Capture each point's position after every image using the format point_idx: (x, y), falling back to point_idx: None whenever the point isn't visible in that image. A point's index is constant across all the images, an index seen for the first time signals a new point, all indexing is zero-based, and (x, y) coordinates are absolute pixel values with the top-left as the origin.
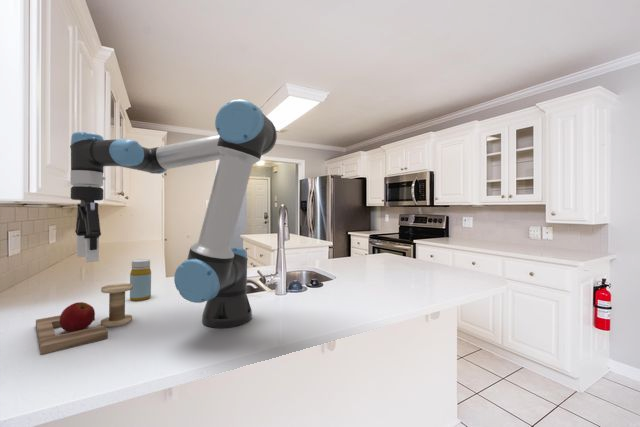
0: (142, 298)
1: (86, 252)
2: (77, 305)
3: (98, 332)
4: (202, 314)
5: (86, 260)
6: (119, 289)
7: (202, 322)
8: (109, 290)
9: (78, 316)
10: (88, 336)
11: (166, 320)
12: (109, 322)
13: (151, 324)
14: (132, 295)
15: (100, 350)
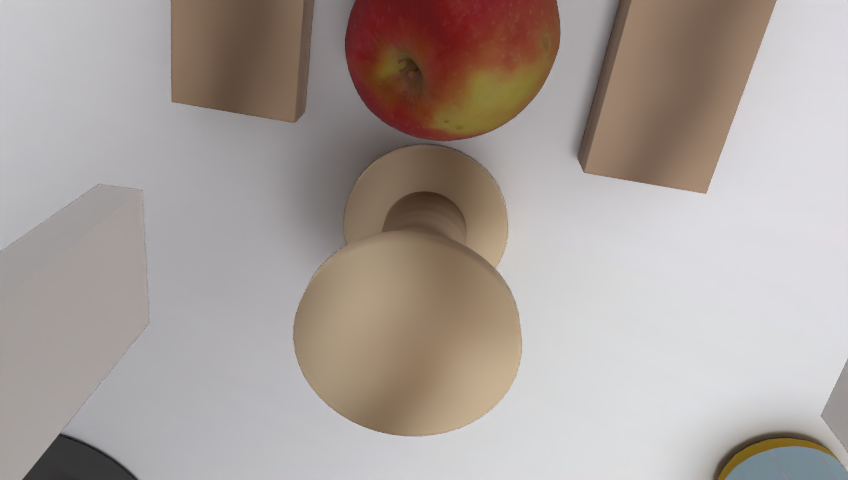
0: (721, 476)
1: (1, 252)
2: (412, 41)
3: (184, 59)
4: (73, 475)
5: (84, 195)
6: (296, 317)
7: (71, 441)
8: (329, 264)
9: (349, 18)
10: (172, 3)
11: (243, 374)
12: (392, 179)
13: (240, 308)
14: (783, 460)
15: (40, 6)
